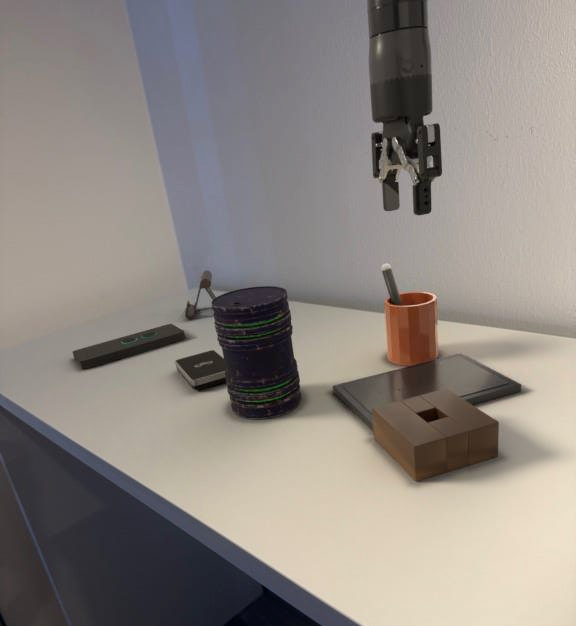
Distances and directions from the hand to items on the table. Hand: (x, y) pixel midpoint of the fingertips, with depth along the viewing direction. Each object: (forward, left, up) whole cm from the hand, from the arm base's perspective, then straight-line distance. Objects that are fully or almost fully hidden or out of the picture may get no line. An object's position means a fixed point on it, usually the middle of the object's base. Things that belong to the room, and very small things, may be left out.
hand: (406, 212), depth 73 cm
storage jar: (+24, +3, -21) cm, 32 cm away
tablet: (+5, +11, -21) cm, 25 cm away
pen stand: (+11, +24, -21) cm, 34 cm away
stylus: (0, 0, -21) cm, 21 cm away
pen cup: (0, 0, -21) cm, 21 cm away
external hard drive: (+30, -12, -21) cm, 39 cm away
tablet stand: (+24, -50, -21) cm, 59 cm away
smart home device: (+41, -35, -21) cm, 58 cm away
